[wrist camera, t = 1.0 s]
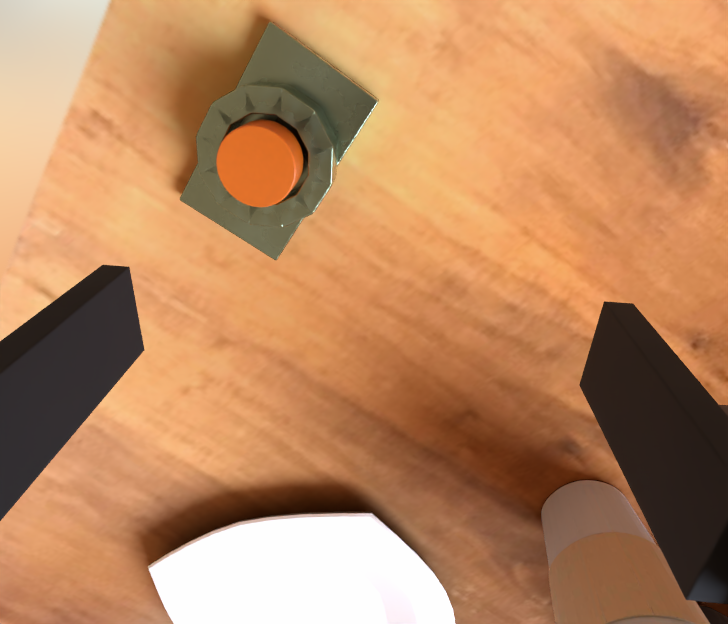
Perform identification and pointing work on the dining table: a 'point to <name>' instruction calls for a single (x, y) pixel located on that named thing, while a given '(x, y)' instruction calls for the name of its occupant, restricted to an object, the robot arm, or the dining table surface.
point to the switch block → (298, 114)
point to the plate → (300, 574)
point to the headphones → (714, 616)
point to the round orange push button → (260, 162)
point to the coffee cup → (607, 562)
